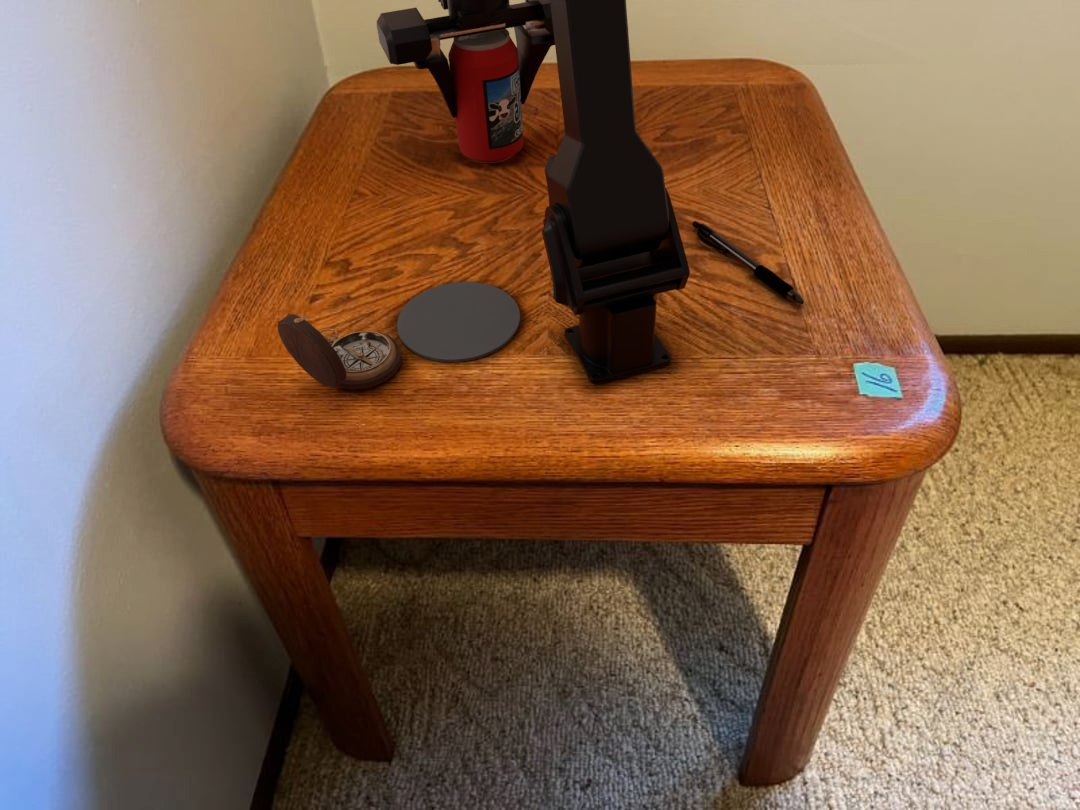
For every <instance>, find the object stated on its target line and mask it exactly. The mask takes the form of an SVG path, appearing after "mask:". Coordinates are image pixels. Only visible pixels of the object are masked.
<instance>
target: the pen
mask: <svg viewBox="0 0 1080 810" xmlns="http://www.w3.org/2000/svg"><path fill="white" fill-rule="evenodd" d="M691 226H692V227H693V228H694V229H695V230H696V231H695V236H696V238H697V239H698V240H699V241H700V242H701V243H703V244H705V245H706V246H708V247H710V248H712V249H715V250H717V251H720V252H721V253H722V254H723V255H728V256H729V257H731V258H732V259H733V260H734V261H735V262H737V263H738V264H740V265H741V266H743V267H744V268H745V269H746V270H748V271H749V272H751V273H752V274H753V276H754V277H756V278H757V279H758V280H759V281H760V282H762V283H763V284H765V285H766V286H767V287H769V288H770V289H772V290H773V291H774V292H776V293H777V294H779V295H780V296H781V297H783V299H787V300H790V301H791V302H793V303H795V304H799V305H804V303H805V300H804V299H803V297H802V295H801V294H800V293H799V292H797V290H795V288H794V287H793V286H792V285H790V284H789V283H788V282H786V281H785V280H784V279H783V278H782V277H780V276H779V275H777V274H776V273H774V271H772V270H771V269H769V268H768V267H765V266H764V265H763V264H760V263H759V262H757V261H756V260H755V259H753V258H752V257H751V256H749V255H747V254H746V253H745V252H744V251H742V250H740V248H738V247H737V246H735V245H734V244H732V243H731V242H730V241H728V240H727V239H725V238H724V237H722V236H721V235H720V234H719V233H717V232H716V231H715V230H714V229H713V228H711V227H709V226H708V225H707V224H705V223H701V222H699V221H697V220H694V221H693V222H691Z"/></svg>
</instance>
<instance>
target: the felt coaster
mask: <svg viewBox="0 0 1080 810" xmlns="http://www.w3.org/2000/svg"><path fill="white" fill-rule="evenodd" d="M520 324H521V311H520V308H519V305H518V303H517V302H516V301H515V299H514V298H513V297H512V296H511V295H510V294H509V293H508V292H506V291H504V290H503V289H501V288H498V287H497V286H494V285H491V284H487V283H482V282H476V281H456V282H455V281H454V282H449V283H444V284H440V285H437V286H434V287H430V288H428V289H427V290H424V291H422V292H420V293H419V294H417V295H415V296H414V297H412V298H411V299H410V300H409V301H408V302H407V303H406V304H405V305H404V306H403V308H402V309H401V311H400V312H399V315H398V317H397V323H396V330H397V334H398V338H399V340H400V342H401V343H402V344H403V346H404V347H405V348H406V349H408V351H410V352H411V353H413V354H415V355H417V356H419V357H422V358H423V359H425V360H430V361H434V362H441V363H461V362H463V363H464V362H470V361H474V360H479V359H481V358H484V357H486V356H489V355H492V354H494V353H496V352H497V351H499V350H501V349H502V348H503V347H506V345H507V344H508V343H510V341H511V340H512V339H513V338H514V337H515V335H516V334H517V332H518V330H519V328H520Z"/></svg>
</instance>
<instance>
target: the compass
mask: <svg viewBox="0 0 1080 810" xmlns="http://www.w3.org/2000/svg"><path fill="white" fill-rule="evenodd" d="M308 317H309V313H308V312H306V315H302V316H299V315H297V314H295V313H288V314H287V315H285V316H284V317H283V318H281V320H278V322H277V331H278V335H279V338H280V340H281V342H282V344H283V346H284V347H285V349H286V350H287V352H288V353H289V355H290V356H291V357H292V358H293V360H294V361H295V362H296V363H297V364H298V365H299V366H300V368H301V369H302V370H303V371H304V372H306V374H308V375H309V376H310V377H311V378H312V379H314V380H315V381H316V382H318V383H319V384H321V385H323V386H325V387H329V388H333V389H336V388H337V387H338V388H340V389H346V390H364V389H369V388H373V387H376V386H378V385H381V383H385V382H386V381H387V380H389V379H390V378H392V377H394V375H395V374H396V373H397V371H398V370H399V369H400V368H401V367H400V366H401V363H402V361H403V357H402V356H403V355H402V349H401V346H400V345H399V343H398V341H397V340H396V339H394V338H393V336H392V335H389V334H386V333H384V332H382V331H381V332H380V331H373V330H361V331H354V332H351V333H347V334H346V335H343V336H341V337H339V332H338V331H337V330H336V329H334V328H323V329H321V330H318V329H317V327H315V326H314V325H312V323H310V322H309V321H307V320H306V319H307V318H308ZM327 331H332V332H334V333H335V336H334V335H329V336H328V337H327V338H326V337H325V336H324V335H323V334H322V333H323V332H327Z"/></svg>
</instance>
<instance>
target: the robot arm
mask: <svg viewBox="0 0 1080 810" xmlns="http://www.w3.org/2000/svg"><path fill="white" fill-rule="evenodd" d="M437 2H438V3H440V7H441V8H442V9H443V10H444V11H445V10H447V11H448V12H447V13H448V15H443V16H438V17H431V18H427V19H425V18H424V17H423V16H422V14H421V13H420V11H419V9H418V8H417V7H409V8H404V9H399V10H392V11H387V12H381V13H380V15H379V16H378V18H377V19H376V30H377V35H378V41H379V42H378V43H379V45H380V46H381V48H382V50H383V53H384V54H385V57H386V58H387V61H388V62H389V64H390V65H396V66H400V65H406V64H410V63H412V64H414V67H415V68H416V69H418V70H426V69H427V70H428V71H429V73H430V74H431V75H432V77H433V79H434V81H435V83H436V85H437V88H438V89H439V92H440V93H441V94H440V95H441V96H442V98H443V101H444V103H445V105H446V107H447V109H448V112H449V113H450V115H451V117H452V118H453V119H456V118H455V117H457V105H456V100H455V95H454V90H453V84H452V79H451V74H450V67H449V58H448V57H447V56H446V55H445V53H444V51H443V50H442V49H441V41H445V40H450V39H454V38H455V37H461V36H467V35H472V34H478V33H483V32H489V31H495V30H500V29H510V28H511V29H512V28H513V30H514V35H515V41H516V47H517V50H518V61H519V75H520V90H521V106H522V105H525V104H526V101H527V99H528V96H529V93H530V92H531V89H532V87H533V84H534V81H535V79H536V76H537V74H538V71H539V69H540V67H541V66H542V64H543V62H544V60H545V58H546V56H547V54H548V53H549V51H550V49H551V47H552V46H554V47H555V48H554V49H555V55H556V57H555V58H556V65H557V66H556V67H557V73H558V74H557V75H558V83H559V90H560V92H559V93H560V100H561V109H562V116H563V118H562V119H563V127H564V136H563V139H562V141H561V143H560V145H559V147H558V150H557V152H556V154H553V155H549V156H548V157H547V160H546V163H545V166H544V174H545V180H546V187H547V193H548V195H547V196H548V206H546V207H545V209H544V218H543V219H542V223H543V227H542V228H541V235H542V239H543V244H544V248H545V252H546V255H547V256H546V257H547V261H548V265H549V269H550V273H551V274H550V275H551V278H552V279H551V280H552V291H553V292H552V293H553V300H554V301H555V303H556V304H560V305H563V306H565V307H569V308H570V310H571V312H572V313H573V315H574V316H575V317H576V316H578V325H573V326H570V327H566V328H565V329H564V331H563V333H564V338H565V340H566V342H567V343H568V345H569V347H570V348H571V351H572V352H573V354H574V356H575V357H576V359H577V361H578V363H579V365H580V366H581V368H582V370H583V372H584V374H585V375H586V377H587V378H588V380H589V382H590V383H591V384H593V385H600V384H603V383H607V382H611V381H614V380H619V379H622V378H626V377H629V376H633V375H637V374H641V373H645V372H648V371H652V370H655V369H659V368H663V367H666V366H669V365H670V364H671V363H672V356H671V354H670V352H669V351H668V350H667V348H666V347H665V345H664V344H663V343H662V341H661V340H660V338H659V337H658V336H657V334H656V319H657V304H658V303H657V302H658V294H662V293H666V292H670V291H674V290H676V291H679V290H680V291H681V290H684V289H685V288H686V285H687V283H688V280H689V278H690V274H691V270H690V266H689V261H688V259H687V254H686V251H685V247H684V244H683V240H682V236H681V233H680V229H679V225H678V222H677V218H676V214H675V211H674V207H673V202H672V200H671V196H670V193H669V191H668V189H667V187H666V181H665V175H664V169H663V167H662V165H661V164H660V162H659V161H658V159H657V158H656V156H655V155H654V154H653V152H652V151H651V150H650V148H649V146H647V144H646V143H645V141H644V139H642V137H641V135H640V134H639V133H638V131H637V126H636V117H635V103H634V90H633V75H632V64H631V48H630V37H629V24H628V10H627V0H524V2H523V1H522V2H520V3H514V4H510V0H437Z"/></svg>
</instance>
